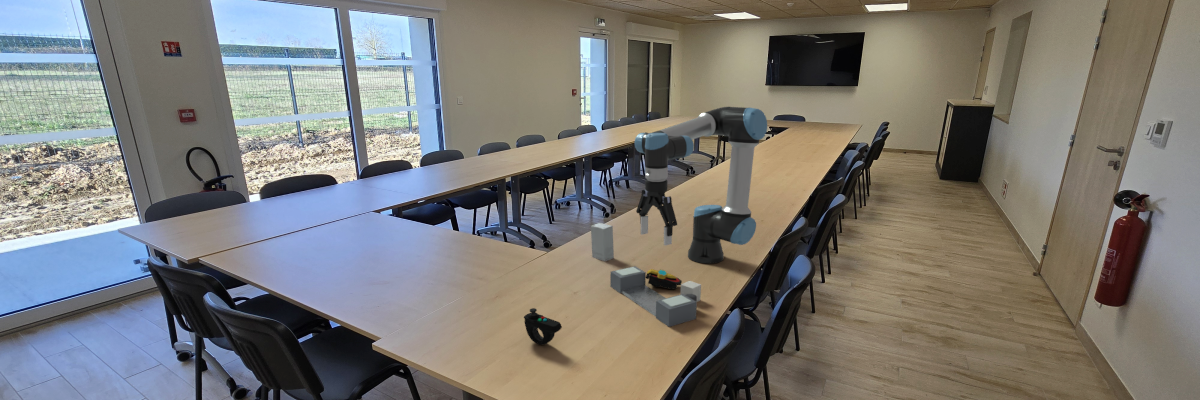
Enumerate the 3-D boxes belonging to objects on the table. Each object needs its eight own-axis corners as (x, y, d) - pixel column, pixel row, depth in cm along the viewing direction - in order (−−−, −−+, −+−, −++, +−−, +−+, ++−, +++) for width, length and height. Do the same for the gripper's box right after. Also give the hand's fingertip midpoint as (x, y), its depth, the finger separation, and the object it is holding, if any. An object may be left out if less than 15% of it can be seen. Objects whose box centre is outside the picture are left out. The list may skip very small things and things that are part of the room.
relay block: (688, 296, 181) (689, 280, 180) (700, 300, 177) (701, 284, 176) (680, 300, 178) (680, 284, 176) (691, 304, 174) (692, 288, 173)
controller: (531, 334, 154) (530, 304, 151) (564, 346, 147) (563, 315, 145) (522, 340, 150) (521, 310, 148) (554, 353, 144) (554, 321, 141)
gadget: (678, 294, 185) (682, 280, 183) (643, 285, 186) (647, 271, 185) (679, 288, 191) (682, 274, 189) (645, 279, 192) (648, 265, 191)
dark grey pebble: (690, 306, 173) (691, 293, 172) (698, 311, 169) (699, 297, 168) (681, 309, 171) (682, 295, 170) (689, 313, 167) (689, 299, 166)
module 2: (682, 310, 170) (683, 293, 168) (695, 318, 164) (696, 301, 162) (655, 317, 164) (656, 300, 163) (668, 326, 158) (669, 308, 157)
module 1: (634, 280, 194) (635, 265, 193) (645, 287, 188) (645, 271, 187) (610, 286, 189) (610, 270, 187) (620, 293, 183) (620, 277, 182)
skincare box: (614, 258, 218) (614, 225, 214) (604, 262, 214) (604, 228, 210) (600, 254, 224) (600, 221, 220) (590, 257, 219) (590, 224, 216)
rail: (636, 282, 192) (636, 279, 192) (690, 316, 165) (690, 313, 165) (614, 288, 187) (614, 285, 187) (666, 323, 160) (666, 320, 160)
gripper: (626, 174, 179) (626, 231, 184) (670, 187, 158) (669, 251, 163) (644, 172, 182) (643, 227, 188) (689, 184, 161) (687, 247, 167)
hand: (655, 239), depth 175 cm, fingers open, 13 cm apart
